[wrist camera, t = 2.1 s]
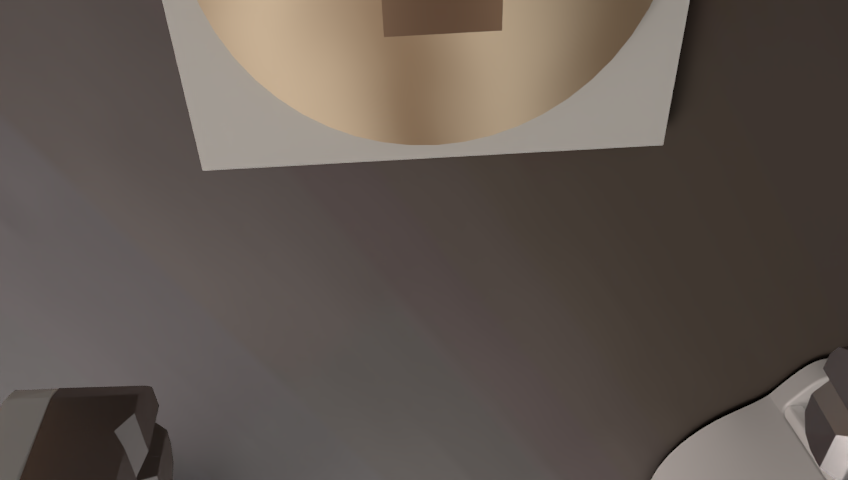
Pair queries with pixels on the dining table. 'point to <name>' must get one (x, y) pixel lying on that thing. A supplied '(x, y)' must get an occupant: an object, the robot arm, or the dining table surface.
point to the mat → (319, 144)
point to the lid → (423, 59)
